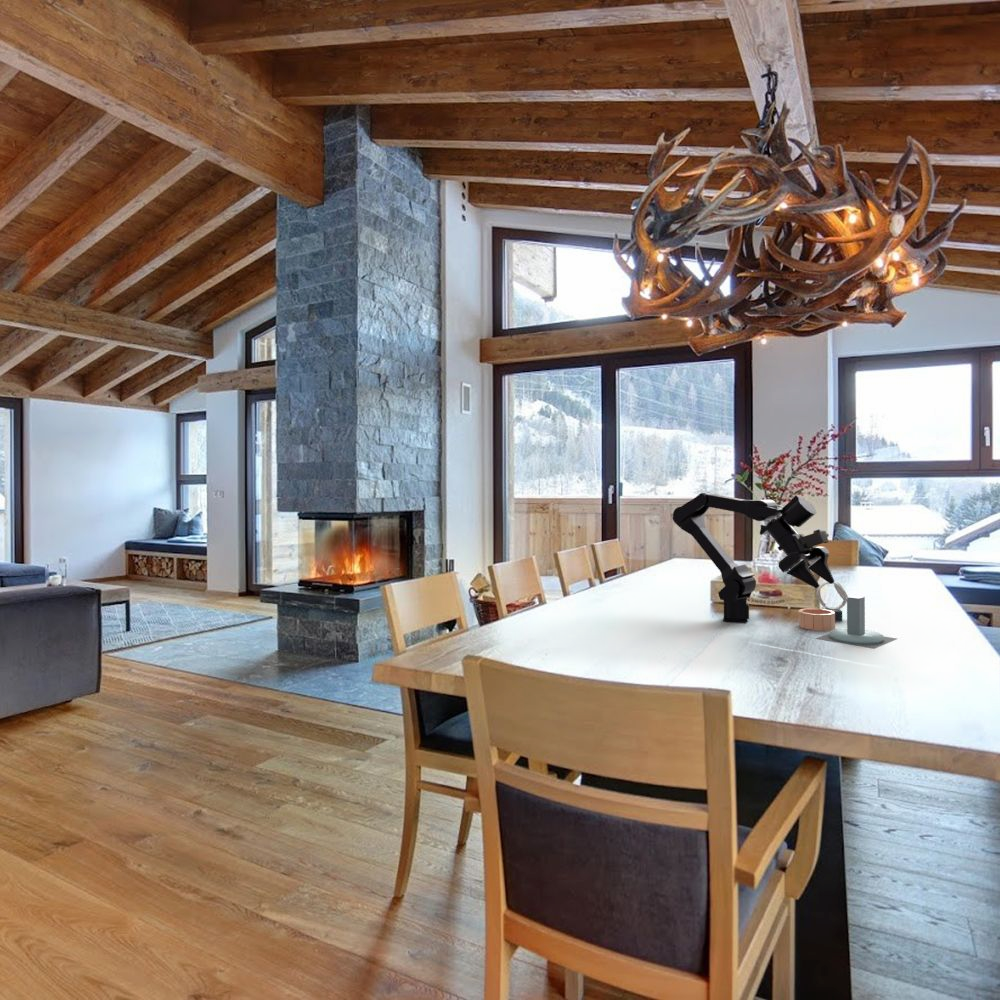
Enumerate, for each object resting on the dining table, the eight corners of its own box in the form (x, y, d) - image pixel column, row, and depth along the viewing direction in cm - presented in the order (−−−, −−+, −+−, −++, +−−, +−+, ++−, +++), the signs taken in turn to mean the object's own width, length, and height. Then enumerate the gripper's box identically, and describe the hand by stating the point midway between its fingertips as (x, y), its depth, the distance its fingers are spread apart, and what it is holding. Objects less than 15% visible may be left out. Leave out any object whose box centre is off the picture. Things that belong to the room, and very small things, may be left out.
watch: (850, 622, 189) (849, 583, 189) (818, 621, 191) (818, 583, 191) (845, 618, 194) (845, 580, 194) (815, 617, 197) (814, 580, 196)
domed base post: (820, 638, 170) (820, 597, 170) (842, 630, 178) (842, 591, 177) (871, 646, 161) (871, 603, 160) (891, 638, 168) (891, 596, 168)
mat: (814, 640, 170) (815, 638, 170) (840, 631, 179) (840, 629, 179) (874, 650, 159) (873, 648, 159) (897, 640, 168) (897, 638, 168)
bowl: (800, 630, 181) (799, 613, 181) (798, 623, 189) (797, 607, 189) (836, 632, 178) (836, 615, 177) (832, 625, 186) (832, 609, 186)
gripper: (793, 521, 172) (835, 570, 165) (824, 517, 184) (864, 563, 177) (761, 547, 178) (800, 596, 171) (793, 541, 191) (831, 587, 184)
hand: (825, 585), depth 176 cm, fingers open, 9 cm apart
